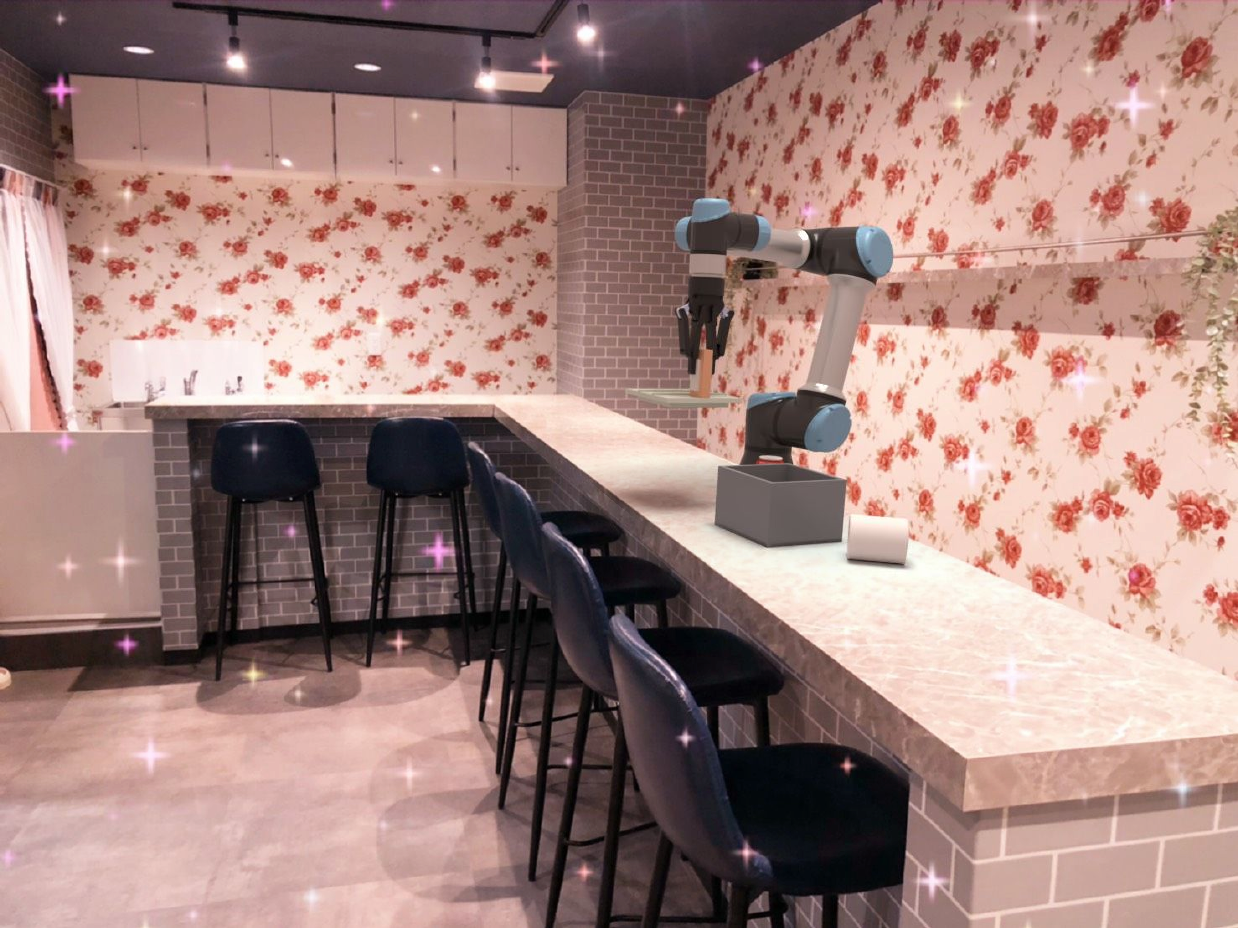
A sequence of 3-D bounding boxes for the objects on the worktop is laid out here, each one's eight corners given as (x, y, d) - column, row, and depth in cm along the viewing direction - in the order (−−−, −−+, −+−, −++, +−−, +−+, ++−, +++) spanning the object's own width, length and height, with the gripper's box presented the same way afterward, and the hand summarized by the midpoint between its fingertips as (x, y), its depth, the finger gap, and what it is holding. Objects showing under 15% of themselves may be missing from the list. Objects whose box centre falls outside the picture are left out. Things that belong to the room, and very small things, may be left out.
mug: (905, 569, 171) (910, 524, 170) (847, 563, 173) (850, 519, 172) (900, 552, 183) (904, 510, 182) (845, 547, 185) (849, 505, 184)
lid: (695, 398, 227) (698, 345, 225) (741, 408, 209) (745, 350, 207) (624, 398, 219) (627, 343, 217) (666, 409, 202) (669, 349, 200)
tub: (785, 519, 206) (789, 463, 204) (841, 541, 189) (846, 479, 187) (714, 524, 199) (718, 465, 197) (766, 547, 182) (771, 483, 180)
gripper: (728, 278, 210) (721, 388, 214) (666, 274, 203) (659, 388, 207) (747, 278, 203) (740, 392, 207) (683, 274, 197) (676, 392, 201)
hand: (700, 390), depth 207 cm, fingers closed on lid, 2 cm apart
